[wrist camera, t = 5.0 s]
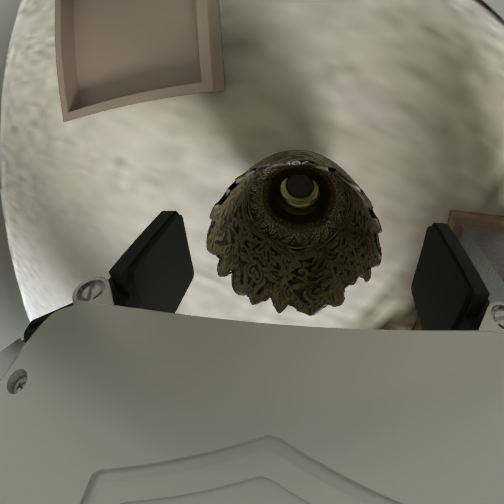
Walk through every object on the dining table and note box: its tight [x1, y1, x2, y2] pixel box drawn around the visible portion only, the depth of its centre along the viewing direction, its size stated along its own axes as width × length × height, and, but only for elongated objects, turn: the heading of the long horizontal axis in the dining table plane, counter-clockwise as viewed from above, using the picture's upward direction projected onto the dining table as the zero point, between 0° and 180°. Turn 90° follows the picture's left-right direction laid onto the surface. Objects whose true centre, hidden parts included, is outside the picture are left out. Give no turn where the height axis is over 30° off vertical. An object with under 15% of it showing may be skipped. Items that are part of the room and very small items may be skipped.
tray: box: [55, 0, 225, 122], centre depth 13 cm, size 11×11×2 cm
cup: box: [207, 150, 382, 316], centre depth 16 cm, size 8×7×8 cm
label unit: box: [413, 211, 504, 330], centre depth 15 cm, size 6×14×13 cm, turn 3°
